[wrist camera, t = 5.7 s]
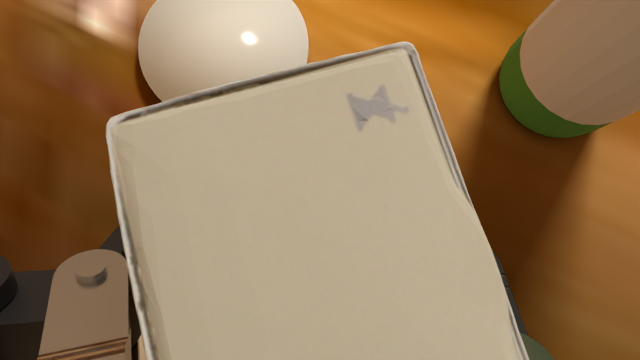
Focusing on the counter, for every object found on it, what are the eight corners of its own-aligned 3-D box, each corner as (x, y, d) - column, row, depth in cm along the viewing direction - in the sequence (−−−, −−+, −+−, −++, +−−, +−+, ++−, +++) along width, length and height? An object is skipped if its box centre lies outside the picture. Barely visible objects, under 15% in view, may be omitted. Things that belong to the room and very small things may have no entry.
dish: (322, -3, 28) (323, -12, 27) (289, 143, 26) (289, 139, 25) (169, -34, 28) (165, -45, 27) (123, 109, 26) (116, 103, 25)
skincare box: (237, 213, 17) (83, 89, 5) (335, 185, 17) (410, 10, 5) (277, 370, 16) (201, 703, 4) (382, 336, 16) (609, 537, 4)
